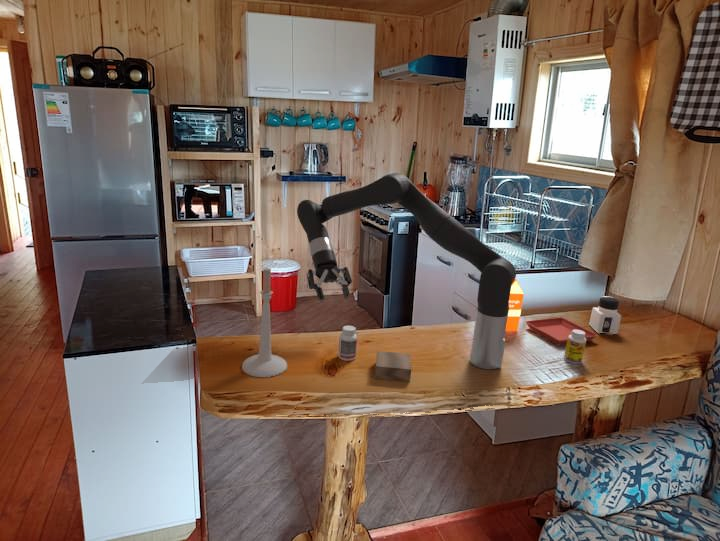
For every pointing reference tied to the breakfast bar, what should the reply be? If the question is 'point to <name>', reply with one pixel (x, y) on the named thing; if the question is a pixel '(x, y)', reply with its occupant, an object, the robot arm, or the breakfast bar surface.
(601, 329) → the container
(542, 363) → the breakfast bar surface
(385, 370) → the walnut base
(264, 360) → the grey pole stand
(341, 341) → the pill bottle
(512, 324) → the orange juice
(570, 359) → the supplement bottle
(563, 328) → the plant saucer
